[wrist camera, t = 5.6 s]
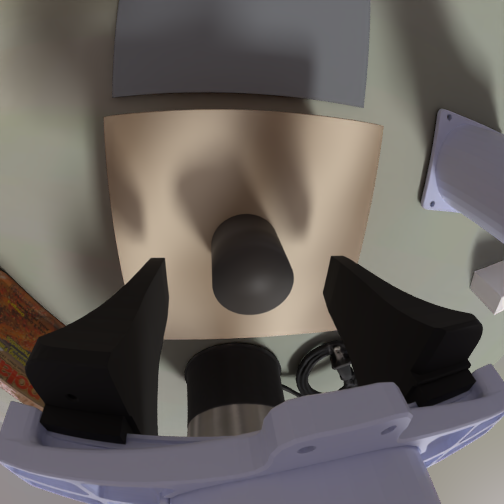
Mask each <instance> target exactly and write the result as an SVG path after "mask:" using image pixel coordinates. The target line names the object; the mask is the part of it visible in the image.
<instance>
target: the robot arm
mask: <svg viewBox="0 0 504 504" xmlns="http://www.w3.org/2000/svg"><path fill="white" fill-rule="evenodd" d="M447 116H448V119H447ZM431 202H432V203H431ZM430 203H431V205H430ZM421 206H422V207H423V208H424V209H429V210H439V211H449V212H458V213H462V214H463V215H464V216H466V217H467V218H469V219H470V220H472V221H473V222H475V223H476V224H478V225H479V226H480V227H482V228H483V229H485V230H486V231H487V232H489V233H490V234H491V235H493V236H494V237H495V238H497V239H498V240H499V241H501V242H502V243H503V244H504V135H503V134H501V133H499V132H497V131H495V130H493V129H491V128H489V127H487V126H485V125H482V124H480V123H478V122H476V121H473V120H471V119H468V118H466V117H464V116H461V115H459V114H456V113H454V112H451V111H448V110H446V109H440V110H439V111H438V114H437V121H436V128H435V135H434V141H433V147H432V153H431V158H430V163H429V168H428V173H427V178H426V182H425V187H424V191H423V195H422V199H421ZM323 296H324V299H325V303H326V306H327V309H328V312H329V314H330V316H331V318H332V320H333V322H334V325H335V327H336V329H337V331H338V333H339V335H340V337H341V339H342V341H343V343H344V345H345V347H346V350H347V352H348V355H349V358H350V361H351V364H352V367H353V370H354V374H355V377H356V381H357V385H358V387H355V388H349V389H344V390H338V391H332V392H326V393H320V394H313V395H306V396H301V397H298V398H294V399H290V400H286V401H285V402H283V403H281V404H279V405H277V406H275V407H274V408H272V409H271V410H270V412H269V413H268V414H267V416H266V417H265V418H264V420H263V425H262V429H261V430H258V431H254V432H249V433H245V434H240V435H235V436H215V437H175V436H158V425H157V395H158V370H159V360H160V354H161V349H162V344H163V338H164V333H165V328H166V323H167V318H168V307H169V291H168V282H167V273H166V263H165V258H150V259H149V260H148V261H147V262H146V263H145V264H144V266H143V267H142V268H141V269H140V270H139V271H138V272H137V273H136V274H135V275H134V276H133V277H132V278H131V279H130V280H129V281H128V283H126V284H125V285H124V286H123V287H122V288H121V289H120V290H119V291H118V292H117V293H116V294H115V295H113V296H112V297H111V298H110V299H109V300H107V301H106V302H105V303H103V304H102V305H101V306H99V307H98V308H96V309H95V310H93V311H92V312H90V313H88V314H87V315H85V316H84V317H82V318H80V319H79V320H77V321H75V322H73V323H71V324H69V325H67V326H65V327H63V328H60V329H58V330H56V331H53V332H50V333H48V334H45V335H43V336H40V337H38V339H37V341H36V343H35V345H34V347H33V349H32V352H31V354H30V356H29V358H28V360H27V363H26V366H25V373H26V376H27V378H28V380H29V382H30V383H31V385H32V386H33V388H34V389H35V391H36V392H37V394H38V395H39V396H40V398H41V399H42V400H43V402H44V403H45V406H44V409H43V412H42V411H41V410H39V409H38V408H36V407H33V406H30V405H26V404H22V403H18V402H14V401H11V402H10V405H9V407H8V410H7V413H6V416H5V419H4V422H3V425H2V428H1V431H0V464H1V465H3V466H4V467H6V468H7V469H8V470H9V471H11V472H12V473H14V474H15V475H16V476H18V477H19V478H21V479H22V480H24V481H25V482H27V483H28V484H30V485H32V486H34V487H37V488H40V489H43V490H46V491H49V492H52V493H55V494H58V495H61V496H64V497H67V498H71V499H74V500H77V501H81V502H84V503H88V504H441V502H440V500H439V498H438V495H437V492H436V490H435V488H434V485H433V483H432V480H431V478H430V476H429V473H428V471H427V469H426V468H428V467H430V466H432V465H434V464H436V463H437V462H439V461H441V460H443V459H444V458H446V457H448V456H450V455H451V454H453V453H455V452H456V451H458V450H460V449H462V448H463V447H465V446H467V445H468V444H470V443H471V442H473V441H475V440H476V439H478V438H479V437H481V436H483V435H484V434H486V432H488V431H489V430H490V429H491V428H492V427H493V426H494V425H495V424H496V423H497V422H498V421H499V420H500V419H501V418H502V417H503V416H504V381H503V380H502V378H501V377H500V376H499V374H498V373H497V371H496V370H495V368H494V367H493V366H492V364H488V365H486V366H483V367H481V368H479V369H477V370H475V371H474V372H473V373H472V374H471V373H470V371H469V370H468V368H470V366H471V364H470V362H469V361H468V358H469V356H470V355H471V353H472V352H473V350H474V348H475V347H476V345H477V344H478V342H479V340H480V338H481V335H482V331H483V326H482V324H481V323H480V322H479V320H478V319H477V318H476V317H475V316H474V315H473V314H470V313H465V312H460V311H455V310H451V309H448V308H444V307H441V306H437V305H434V304H432V303H429V302H426V301H424V300H421V299H419V298H416V297H414V296H412V295H410V294H408V293H406V292H404V291H402V290H400V289H398V288H396V287H394V286H392V285H391V284H389V283H387V282H385V281H384V280H382V279H381V278H379V277H377V276H376V275H374V274H373V273H371V272H369V271H368V270H366V269H365V268H363V267H362V266H360V265H359V264H357V263H355V262H354V261H352V260H351V259H349V258H347V257H345V256H331V258H330V262H329V267H328V272H327V276H326V280H325V285H324V289H323Z"/></svg>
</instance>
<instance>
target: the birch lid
mask: <svg viewBox="0 0 504 504" xmlns="http://www.w3.org/2000/svg"><path fill="white" fill-rule="evenodd" d="M383 127H384V126H381V125H378V124H373V123H368V122H362V121H356V120H350V119H343V118H336V117H328V116H320V115H311V114H302V113H291V112H278V111H262V110H236V109H193V110H167V111H151V112H139V113H128V114H119V115H110V116H106V117H104V137H105V153H106V166H107V177H108V186H109V195H110V203H111V211H112V218H113V225H114V231H115V237H116V243H117V249H118V255H119V260H120V265H121V270H122V275H123V280H124V285H125V284H126V283H128V281H129V280H130V279H131V278H132V277H133V276H134V275H135V274H136V273H137V272H138V271H139V270H140V269H141V268H142V267H143V266H144V264H145V263H146V262H147V261H148V260H149V259H150V258H165V263H166V273H167V282H168V291H169V307H168V318H167V323H166V328H165V333H164V338H163V340H189V339H229V338H250V337H267V336H281V335H294V334H305V333H316V332H326V331H335V330H337V329H336V327H335V325H334V322H333V320H332V318H331V316H330V314H329V312H328V309H327V306H326V303H325V299H324V296H323V289H324V285H325V280H326V276H327V272H328V267H329V262H330V258H331V256H345V257H347V258H349V259H351V260H352V261H354V262H355V263H357V264H358V260H359V256H360V252H361V248H362V243H363V239H364V235H365V230H366V226H367V221H368V216H369V211H370V207H371V202H372V196H373V191H374V186H375V180H376V174H377V168H378V162H379V156H380V149H381V142H382V135H383Z"/></svg>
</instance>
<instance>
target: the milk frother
mask: <svg viewBox="0 0 504 504" xmlns="http://www.w3.org/2000/svg"><path fill="white" fill-rule="evenodd" d="M328 355H331V357H330V360H331V364H332V369H334V370H336V369H337V371H338V373H339V375H340V378H341V380H344V386H343V387H342V388H340V389H339V390H344V389H349V388H355V387H358V385H357V381H356V377H355V374H354V371H353V369H352V367H350V364H351V361H350V358H349V355H348V352H347V350H346V347H345V345H344V343H343V341H333V342H329V343H326V344H323V345H321V346H319V347H317V348H315V349H313V350H312V351H310V352H309V353H308V354H306V355H305V357H304V358H303V359H302V361H301V362H300V364H299V366H298V369H297V373H296V383H297V387H298V389H299V391H300V393H301V394H300V393H298V392H296V391H294V390H292V389H291V388H289V387H287V386H285V385H283V384H281V379H280V374H281V366H280V363H279V361H278V360H277V358H276V357H275V356H274V355H273V354H272V353H270V352H269V351H267V350H266V349H263V348H260V347H258V346H254V345H250V344H243V343H231V344H224V345H219V346H214V347H211V348H208V349H206V350H203V351H202V352H200V353H198V354H197V355H195V356H194V357H193V358H192V359H191V360H190V361H189V362H188V364H187V366H186V369H185V381H186V383H187V398H188V424H187V427H188V432H187V437H215V436H235V435H240V434H245V433H249V432H254V431H258V430H261V429H262V425H263V420H264V418H265V417H266V416H267V414H268V413H269V412H270V410H271V409H272V408H274V407H275V406H277V405H279V404H281V403H283V402H285V400H284V395H283V390H285V391H287V392H290V393H292V394H293V395H295V396H297V397H301V396H306V395H313V394H320V393H321V392H318V391H315V390H314V389H312V388H311V386H310V385H309V383H308V376H309V373H310V371H311V369H312V368H313V366H314V365H315V364H316V363H317V362H318V361H319V360H321V359H322V358H324V357H326V356H328Z"/></svg>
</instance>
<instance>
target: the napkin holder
mask: <svg viewBox="0 0 504 504" xmlns="http://www.w3.org/2000/svg"><path fill="white" fill-rule="evenodd" d="M470 289H471V291H472V292H473V293H474V294H475V295H476V296H477V297H478V298H479V299H480V300H481V301H482V302H483V303H484V304H485V305H486V306H487V307H488V309H489V310H490V311H491V312H492V313H493V314H494V315H495V314H497V313H499V312H501V311H503V310H504V260H503V261H501V262H498V263H496V264H493V265H490V266H488V267H485V268H482V269H479V270H477V271H475V272H474V275H473V279H472V282H471V285H470Z"/></svg>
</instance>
